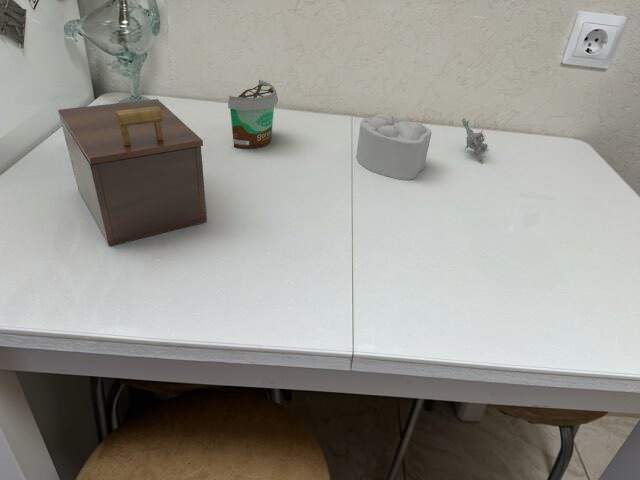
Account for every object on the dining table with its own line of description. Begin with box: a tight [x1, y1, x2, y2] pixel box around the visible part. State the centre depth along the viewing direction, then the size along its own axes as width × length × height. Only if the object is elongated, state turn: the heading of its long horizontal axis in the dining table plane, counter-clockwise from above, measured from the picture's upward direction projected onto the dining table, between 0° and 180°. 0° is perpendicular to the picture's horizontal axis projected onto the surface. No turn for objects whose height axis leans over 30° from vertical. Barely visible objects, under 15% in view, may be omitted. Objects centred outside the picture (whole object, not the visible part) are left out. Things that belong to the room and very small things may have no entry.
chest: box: [59, 116, 208, 247], centre depth 70 cm, size 17×14×12 cm
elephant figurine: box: [461, 117, 489, 163], centre depth 101 cm, size 10×6×9 cm
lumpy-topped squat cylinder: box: [355, 112, 432, 181], centre depth 92 cm, size 10×13×9 cm
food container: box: [227, 79, 279, 150], centre depth 93 cm, size 12×6×10 cm, turn 161°
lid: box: [57, 98, 204, 164], centre depth 65 cm, size 17×14×5 cm
